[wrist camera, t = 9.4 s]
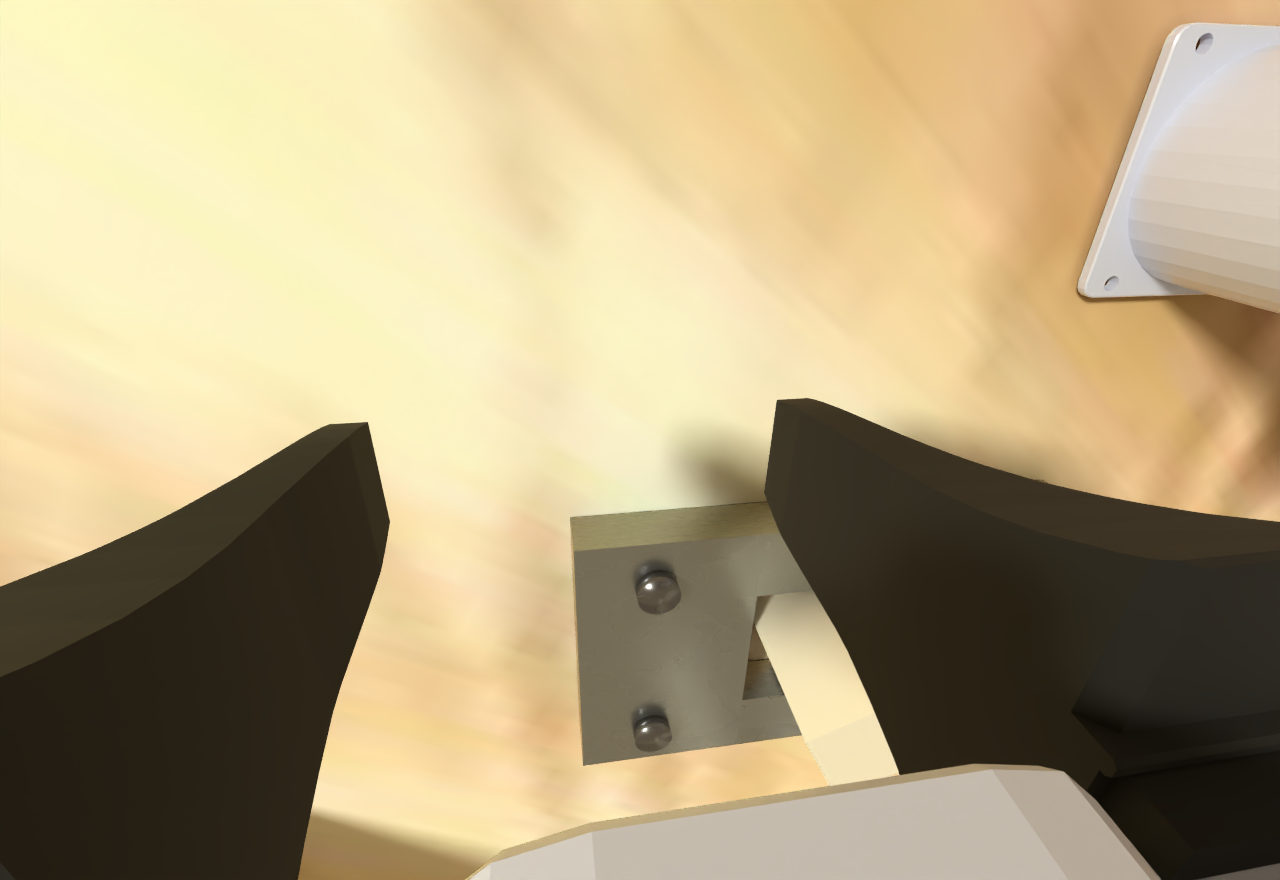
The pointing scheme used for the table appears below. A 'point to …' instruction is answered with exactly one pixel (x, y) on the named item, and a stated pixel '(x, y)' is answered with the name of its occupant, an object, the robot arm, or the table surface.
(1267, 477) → the table surface
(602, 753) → the strike plate
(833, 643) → the cream rectangular block
